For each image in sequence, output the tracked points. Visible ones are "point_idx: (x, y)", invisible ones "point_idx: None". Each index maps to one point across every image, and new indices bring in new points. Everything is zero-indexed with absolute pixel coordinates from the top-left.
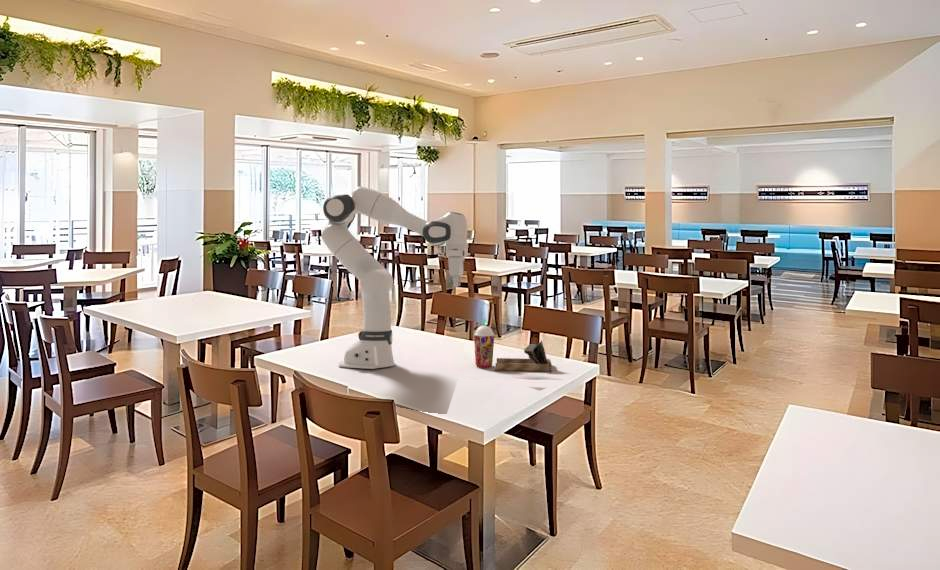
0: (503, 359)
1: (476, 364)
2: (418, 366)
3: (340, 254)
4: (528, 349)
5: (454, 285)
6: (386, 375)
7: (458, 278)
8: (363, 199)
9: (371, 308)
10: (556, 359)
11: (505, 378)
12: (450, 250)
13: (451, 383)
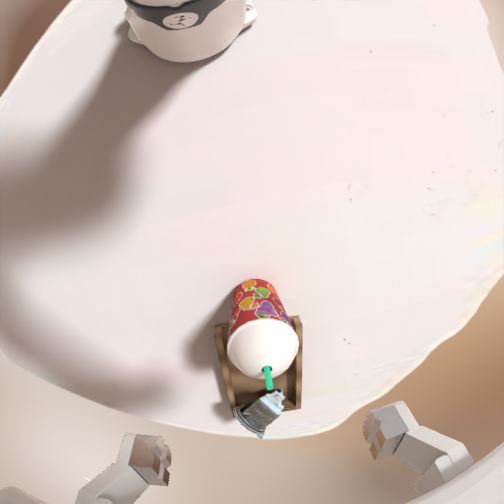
0: None
1: (242, 283)
2: (237, 116)
3: None
4: (255, 407)
5: (127, 447)
6: (90, 92)
7: (427, 464)
8: None
9: None
10: (375, 390)
11: (137, 349)
12: None
13: (53, 261)
